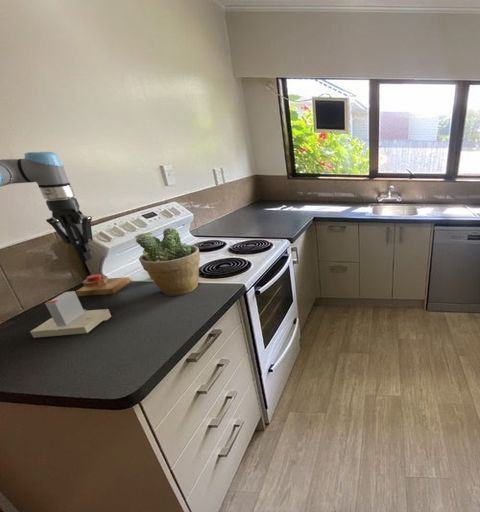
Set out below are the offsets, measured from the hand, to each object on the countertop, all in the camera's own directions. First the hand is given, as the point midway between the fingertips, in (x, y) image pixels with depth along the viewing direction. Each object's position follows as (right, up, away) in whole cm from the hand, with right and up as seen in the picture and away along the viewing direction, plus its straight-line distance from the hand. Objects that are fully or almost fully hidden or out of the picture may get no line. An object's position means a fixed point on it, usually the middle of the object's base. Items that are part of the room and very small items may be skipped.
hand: (87, 259), depth 110 cm
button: (0, -8, +3) cm, 9 cm away
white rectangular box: (+16, -18, -20) cm, 32 cm away
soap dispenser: (+18, -8, +13) cm, 23 cm away
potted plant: (+33, -12, +4) cm, 36 cm away
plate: (+16, -21, -19) cm, 33 cm away
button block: (+3, -12, +4) cm, 13 cm away
